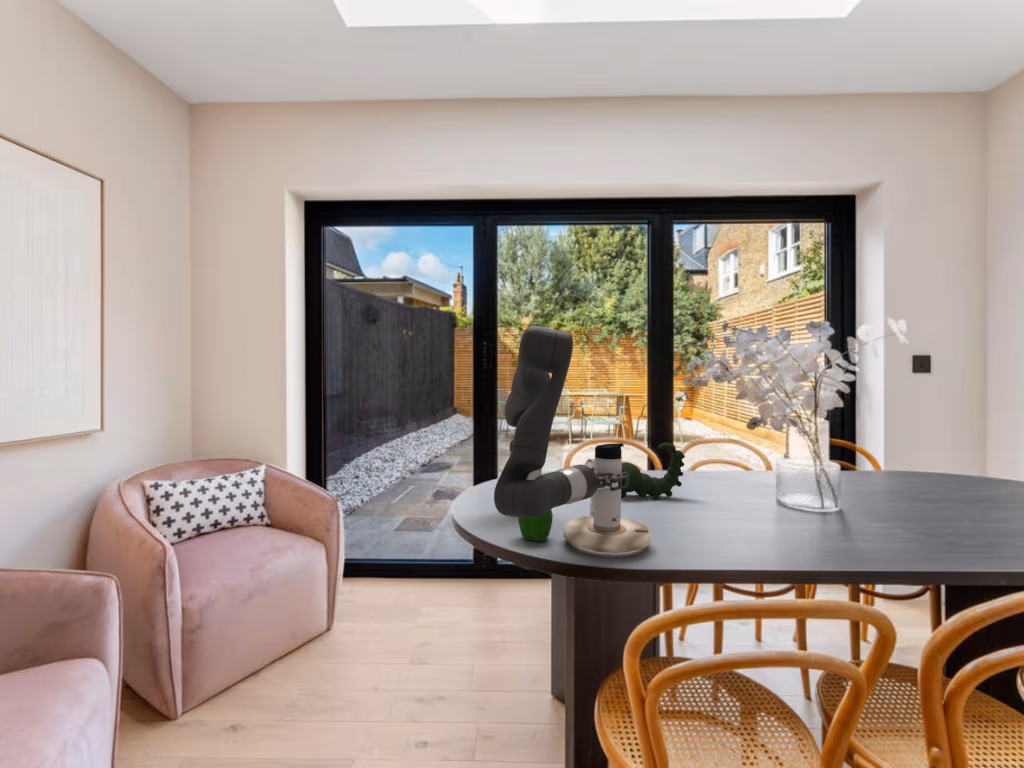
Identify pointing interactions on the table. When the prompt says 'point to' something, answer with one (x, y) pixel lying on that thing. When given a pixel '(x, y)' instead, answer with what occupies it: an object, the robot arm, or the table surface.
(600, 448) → the travel mug
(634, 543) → the turntable platter
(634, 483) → the toy figurine
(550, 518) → the bell pepper
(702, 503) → the table surface
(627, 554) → the turntable base
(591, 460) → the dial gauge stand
